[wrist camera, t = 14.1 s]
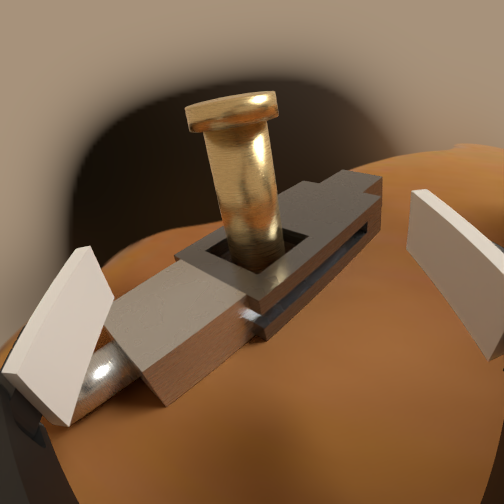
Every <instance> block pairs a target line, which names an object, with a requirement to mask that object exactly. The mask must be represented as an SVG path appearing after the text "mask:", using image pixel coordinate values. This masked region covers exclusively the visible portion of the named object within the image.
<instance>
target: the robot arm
mask: <svg viewBox="0 0 504 504" xmlns="http://www.w3.org/2000/svg"><path fill="white" fill-rule="evenodd" d="M406 249H407V251H408V252H409V253H410V254H411V255H412V257H413V258H414V259H415V260H416V262H417V263H418V264H419V265H420V267H421V268H422V269H423V270H424V272H425V273H426V274H427V275H428V277H429V278H430V279H431V281H432V282H433V283H434V284H435V286H436V287H437V288H438V290H439V291H440V292H441V294H442V295H443V296H444V298H445V299H446V300H447V302H448V303H449V305H450V306H451V307H452V309H453V310H454V312H455V313H456V314H457V316H458V317H459V319H460V320H461V321H462V323H463V324H464V326H465V327H466V329H467V330H468V332H469V333H470V335H471V336H472V338H473V339H474V341H475V342H476V344H477V345H478V347H479V348H480V350H481V352H482V353H483V355H484V356H485V358H486V359H487V361H488V362H489V361H491V360H493V359H495V358H497V357H499V356H501V355H503V354H504V248H503V247H501V246H499V245H498V244H496V243H494V242H492V241H490V240H489V239H487V238H486V237H485V236H484V235H483V234H482V233H481V232H480V231H478V230H477V229H476V228H475V227H474V226H473V225H471V224H470V223H469V222H468V221H467V220H465V219H464V218H463V217H462V216H460V215H459V214H458V213H457V212H456V211H454V210H453V209H452V208H451V207H449V206H448V205H447V204H445V203H444V202H443V201H442V200H440V199H439V198H438V197H436V196H435V195H434V194H432V193H431V192H430V191H428V190H427V189H423V190H414V191H411V203H410V217H409V228H408V238H407V247H406ZM113 300H114V296H113V294H112V292H111V289H110V287H109V285H108V283H107V281H106V279H105V277H104V275H103V273H102V271H101V269H100V266H99V264H98V262H97V260H96V258H95V255H94V253H93V251H92V248H91V246H87V247H82V248H78V249H75V251H74V252H73V254H72V255H71V256H70V258H69V259H68V261H67V262H66V264H65V265H64V266H63V268H62V269H61V271H60V272H59V274H58V275H57V277H56V278H55V280H54V281H53V283H52V284H51V286H50V287H49V289H48V291H47V292H46V294H45V295H44V297H43V299H42V300H41V302H40V303H39V305H38V306H37V308H36V310H35V311H34V313H33V315H32V316H31V318H30V320H29V321H28V323H27V324H26V325H25V326H24V327H23V329H22V330H21V332H20V334H19V336H18V337H17V340H16V341H15V343H14V345H13V349H11V350H10V352H9V354H8V356H7V358H6V360H5V362H4V364H3V366H2V368H1V370H0V504H79V502H78V501H77V499H76V497H75V495H74V493H73V491H72V489H71V487H70V485H69V483H68V481H67V479H66V477H65V474H64V472H63V470H62V468H61V466H60V463H59V461H58V459H57V456H56V454H55V451H54V449H53V446H52V444H51V441H50V439H49V436H48V433H47V431H46V428H45V427H44V425H43V424H42V423H41V422H40V420H41V417H42V415H43V416H44V417H45V418H46V419H47V420H48V421H49V422H50V423H51V424H53V425H59V426H66V427H69V426H70V423H71V419H72V416H73V412H74V409H75V406H76V402H77V399H78V396H79V393H80V390H81V386H82V383H83V380H84V377H85V374H86V371H87V369H88V366H89V363H90V360H91V357H92V354H93V352H94V349H95V346H96V343H97V341H98V338H99V335H100V333H101V330H102V328H103V325H104V322H105V320H106V317H107V315H108V312H109V310H110V308H111V305H112V303H113ZM503 371H504V369H503ZM481 504H504V422H503V427H502V432H501V436H500V441H499V445H498V449H497V453H496V457H495V461H494V464H493V468H492V471H491V474H490V478H489V481H488V484H487V487H486V490H485V493H484V496H483V498H482V501H481Z"/></svg>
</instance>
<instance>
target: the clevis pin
mask: <svg viewBox="0 0 504 504" xmlns="http://www.w3.org/2000/svg"><path fill="white" fill-rule="evenodd" d="M185 111H186V115H187V120H188V125H189V130H190V132H203V133H204V138H205V143H206V148H207V152H208V157H209V161H210V166H211V171H212V174H213V179H214V184H215V189H216V193H217V198H218V202H219V207H220V211H221V216H222V220H223V224H224V229H225V233H226V237H227V242H228V246H229V250H230V255H231V259H232V263H233V264H235V265H237V266H239V267H241V268H244V269H246V270H248V271H250V272H253V273H255V274H257V275H258V274H260V273H261V272H262V271H264V270H265V269H266V268H268V267H269V266H270V265H272V264H273V263H274V262H276V261H277V260H278V259H280V258H281V257H282V256H284V255H285V249H284V241H283V233H282V225H281V218H280V210H279V203H278V195H277V188H276V181H275V174H274V167H273V160H272V154H271V148H270V141H269V134H268V127H267V120H270V119H273V118H275V117H277V116H278V115H279V114H278V107H277V101H276V94H275V91H265V92H254V93H246V94H239V95H233V96H228V97H223V98H218V99H213V100H209V101H204V102H201V103H197V104H193V105H190V106H188V107H185Z"/></svg>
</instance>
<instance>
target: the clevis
mask: <svg viewBox="0 0 504 504" xmlns="http://www.w3.org/2000/svg"><path fill="white" fill-rule="evenodd" d="M278 203H279V210H280V218H281V225H282V233H283V241H284V249H285V255H284V256H282V257H281V258H280V259H278V260H277V261H276V262H274V263H273V264H272V265H270V266H269V267H268V268H266V269H265V270H264V271H262V272H261V273H260V274H258V275H257V274H255V273H253V272H250V271H248V270H246V269H244V268H241V267H239V266H237V265H235V264H233V263H232V259H231V255H230V250H229V246H228V242H227V237H226V233H225V229H224V226H222V227H221V228H219V229H217V230H216V231H214V232H212V233H210V234H209V235H207V236H205V237H204V238H202V239H200V240H199V241H197V242H195V243H194V244H192V245H190V246H188V247H187V248H185V249H183V250H182V251H180V252H178V253H177V254H175V255H174V258H175V261H176V262H175V263H174V264H172V265H171V266H169V267H167V268H166V269H164V270H163V271H161V272H159V273H158V274H156V275H154V276H153V277H151V278H150V279H148V280H147V281H145V282H143V283H142V284H140V285H139V286H137V287H135V288H134V289H132V290H131V291H129V292H128V293H126V294H124V295H123V296H121V297H120V298H118V299H117V300H115V301H113V303H112V305H111V308H110V310H109V312H108V315H107V317H106V320H105V322H104V325H103V327H104V329H105V330H106V332H107V334H108V335H109V337H110V339H111V340H112V341H110V342H109V343H108V344H106V345H105V346H103V347H102V348H100V349H99V350H97V351H96V352H94V353H93V354H92V357H91V360H90V363H89V366H88V369H87V371H86V374H85V377H84V380H83V383H82V386H81V390H80V393H79V396H78V399H77V402H76V406H75V409H74V412H73V416H72V419H71V423H70V425H72V424H73V423H75V422H76V421H78V420H79V419H80V418H82V417H83V416H85V415H86V414H88V413H89V412H91V411H92V410H93V409H95V408H96V407H98V406H99V405H101V404H102V403H104V402H105V401H106V400H108V399H109V398H111V397H112V396H113V395H115V394H116V393H118V392H119V391H121V390H122V389H123V388H125V387H126V386H128V385H129V384H130V383H132V382H133V381H135V380H136V379H137V378H139V377H140V378H141V379H142V380H143V381H144V383H145V384H146V385H147V386H148V387H149V388H150V389H151V391H152V392H153V393H154V394H155V395H156V396H157V397H158V398H159V399H160V401H161V402H162V403H163V404H164V405H165V406H166V407H167V406H168V405H169V404H171V403H172V402H173V401H175V400H176V399H177V398H179V397H180V396H181V395H182V394H184V393H185V392H186V391H188V390H189V389H190V388H191V387H193V386H194V385H195V384H196V383H198V382H199V381H200V380H201V379H203V378H204V377H205V376H206V375H208V374H209V373H210V372H211V371H213V370H214V369H215V368H216V367H218V366H219V365H220V364H221V363H222V362H224V361H225V360H226V359H227V358H228V357H230V356H231V355H232V354H233V353H234V352H236V351H237V350H238V349H239V348H240V347H242V346H243V345H244V344H245V343H246V342H248V341H249V340H250V339H251V338H252V337H253V336H255V335H257V336H259V337H261V338H262V339H264V340H266V341H268V340H269V339H270V338H271V337H272V336H273V335H274V334H275V333H276V332H278V331H279V330H280V329H281V328H282V327H283V326H284V325H285V324H286V323H287V322H288V321H290V320H291V319H292V318H293V317H294V316H295V315H296V314H297V313H298V312H299V311H300V310H301V309H302V308H303V307H304V306H305V305H307V304H308V303H309V302H310V301H311V300H312V299H313V298H314V297H315V296H316V295H317V294H318V293H319V292H320V291H321V290H322V289H323V288H324V287H325V286H326V285H327V284H328V283H329V282H330V281H331V280H332V279H333V278H334V277H335V276H336V275H337V274H338V273H339V272H340V271H341V270H342V269H343V268H344V267H345V266H346V265H347V264H348V263H349V262H350V261H351V260H352V259H353V258H354V257H355V256H356V255H357V254H358V253H359V252H360V251H361V250H362V249H363V248H364V247H365V246H366V245H367V243H368V242H369V241H370V240H371V239H372V238H373V237H374V236H375V235H376V234H377V233H378V232H379V231H380V226H381V207H382V177H380V176H375V175H370V174H364V173H359V172H353V171H347V170H341V171H340V172H338V173H336V174H335V175H333V176H332V177H329V178H328V179H326V180H324V181H323V182H321V183H319V184H318V183H313V182H308V181H302V182H300V183H298V184H297V185H295V186H293V187H291V188H290V189H288V190H286V191H284V192H282V193H280V194H279V195H278Z"/></svg>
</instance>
